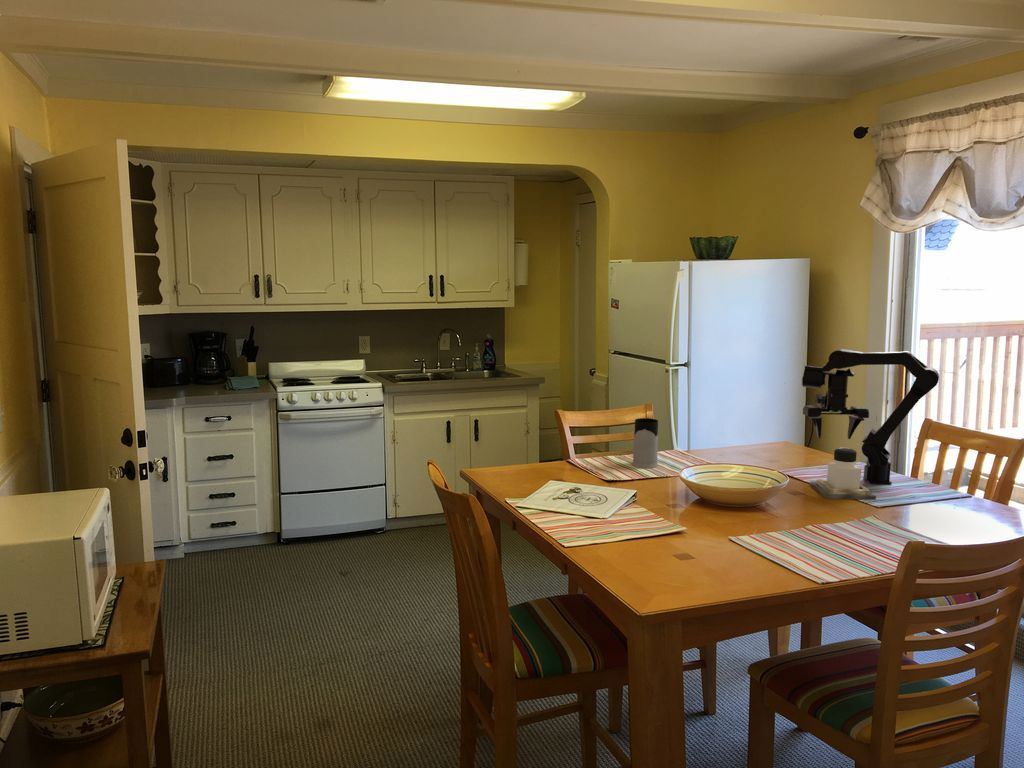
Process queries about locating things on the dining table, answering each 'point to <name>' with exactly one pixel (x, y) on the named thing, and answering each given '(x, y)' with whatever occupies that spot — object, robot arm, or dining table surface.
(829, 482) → the medicine bottle
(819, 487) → the grey square tray
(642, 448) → the glass holder
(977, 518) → the dining table surface
